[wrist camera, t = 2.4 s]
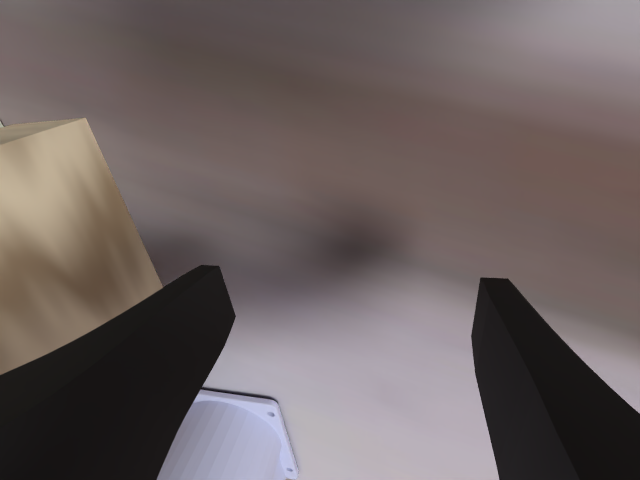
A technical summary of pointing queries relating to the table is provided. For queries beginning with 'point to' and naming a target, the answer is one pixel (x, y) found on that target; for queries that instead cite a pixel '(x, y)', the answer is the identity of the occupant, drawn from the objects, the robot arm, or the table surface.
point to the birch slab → (62, 241)
